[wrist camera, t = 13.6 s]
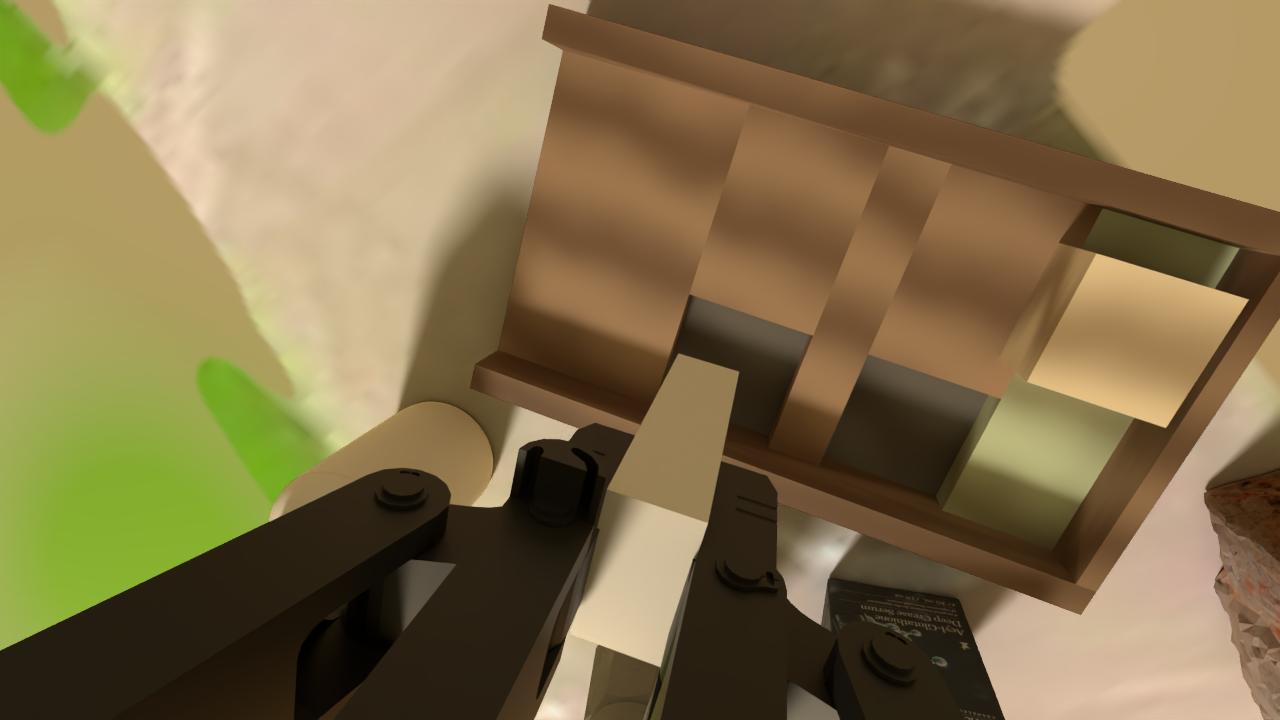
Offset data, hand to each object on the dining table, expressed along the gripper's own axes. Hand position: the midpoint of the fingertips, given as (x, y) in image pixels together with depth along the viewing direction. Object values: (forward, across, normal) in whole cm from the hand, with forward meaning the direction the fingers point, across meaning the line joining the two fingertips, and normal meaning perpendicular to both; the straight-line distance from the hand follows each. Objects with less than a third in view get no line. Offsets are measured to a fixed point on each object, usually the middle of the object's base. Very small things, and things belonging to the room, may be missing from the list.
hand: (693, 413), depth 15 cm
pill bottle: (+22, -16, -18) cm, 33 cm away
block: (+20, +17, +2) cm, 26 cm away
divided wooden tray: (+22, +5, -1) cm, 22 cm away
